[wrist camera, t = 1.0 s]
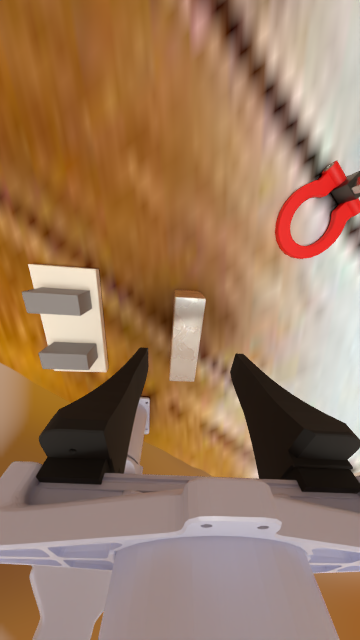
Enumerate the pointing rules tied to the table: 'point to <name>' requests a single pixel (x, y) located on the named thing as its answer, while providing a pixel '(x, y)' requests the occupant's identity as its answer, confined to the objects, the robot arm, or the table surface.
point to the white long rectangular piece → (186, 334)
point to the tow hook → (350, 205)
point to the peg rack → (69, 317)
